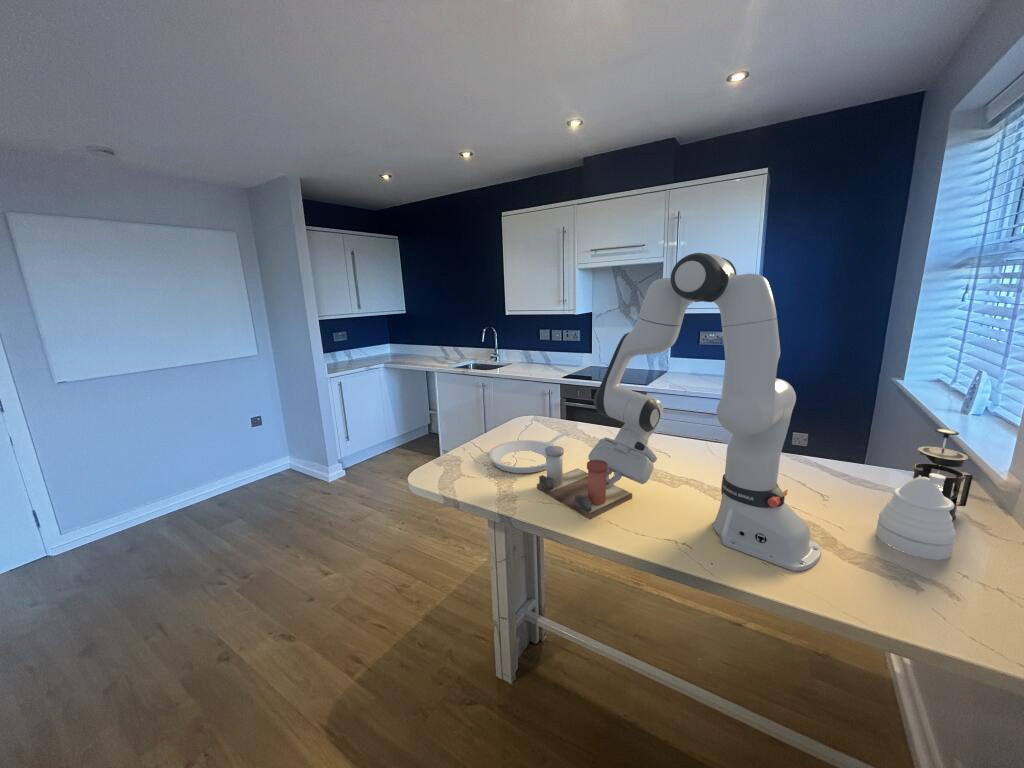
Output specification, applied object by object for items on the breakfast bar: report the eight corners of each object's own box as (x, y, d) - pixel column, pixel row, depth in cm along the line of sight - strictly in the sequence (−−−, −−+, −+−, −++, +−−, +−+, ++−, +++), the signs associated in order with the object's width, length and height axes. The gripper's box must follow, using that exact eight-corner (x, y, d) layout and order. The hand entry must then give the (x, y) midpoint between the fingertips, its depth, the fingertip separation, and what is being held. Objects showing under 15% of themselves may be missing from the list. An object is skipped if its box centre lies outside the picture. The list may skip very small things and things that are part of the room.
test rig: (632, 498, 120) (632, 484, 119) (589, 519, 110) (589, 504, 109) (577, 472, 138) (577, 460, 137) (537, 488, 128) (536, 475, 127)
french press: (914, 518, 105) (931, 434, 100) (894, 500, 113) (909, 423, 108) (974, 525, 101) (995, 438, 96) (948, 506, 110) (967, 426, 104)
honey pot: (965, 552, 91) (983, 479, 87) (927, 565, 88) (944, 489, 84) (898, 522, 103) (911, 457, 99) (862, 532, 100) (874, 465, 96)
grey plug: (567, 483, 127) (567, 449, 124) (553, 488, 124) (553, 454, 121) (555, 476, 132) (555, 444, 129) (541, 481, 128) (541, 449, 126)
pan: (475, 462, 151) (474, 450, 150) (545, 435, 176) (545, 425, 175) (522, 484, 132) (522, 471, 131) (594, 451, 157) (594, 439, 155)
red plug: (611, 500, 115) (612, 464, 113) (597, 507, 112) (597, 470, 110) (596, 493, 120) (596, 458, 117) (582, 499, 117) (582, 463, 114)
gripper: (597, 431, 127) (575, 468, 124) (653, 449, 111) (629, 493, 107) (607, 440, 130) (585, 477, 127) (662, 460, 114) (639, 502, 111)
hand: (606, 484), depth 117 cm, fingers closed
